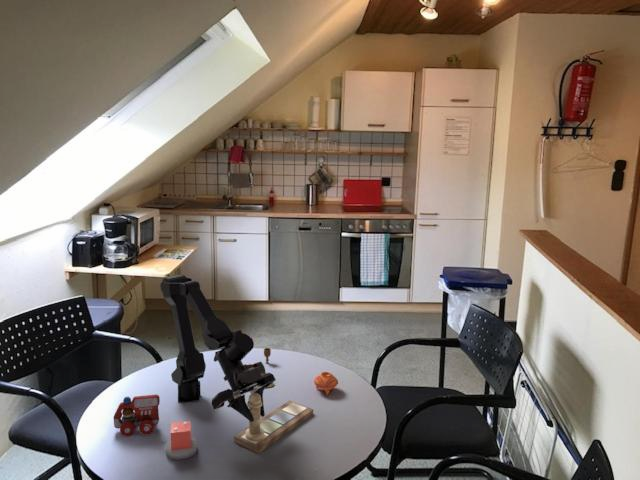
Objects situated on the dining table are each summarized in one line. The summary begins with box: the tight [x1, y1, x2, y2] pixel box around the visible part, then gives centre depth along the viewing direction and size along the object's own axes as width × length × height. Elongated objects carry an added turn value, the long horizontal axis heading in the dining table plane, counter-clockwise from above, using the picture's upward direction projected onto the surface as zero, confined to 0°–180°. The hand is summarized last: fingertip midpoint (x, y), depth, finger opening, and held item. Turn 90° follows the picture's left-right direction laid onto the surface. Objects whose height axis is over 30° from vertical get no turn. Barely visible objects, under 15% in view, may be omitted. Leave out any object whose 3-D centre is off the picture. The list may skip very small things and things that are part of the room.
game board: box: [233, 400, 314, 454], centre depth 157 cm, size 25×9×2 cm, turn 146°
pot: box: [313, 371, 339, 396], centre depth 178 cm, size 8×8×7 cm
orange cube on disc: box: [165, 420, 198, 461], centre depth 144 cm, size 8×8×8 cm
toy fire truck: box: [113, 394, 161, 437], centre depth 153 cm, size 7×12×10 cm, turn 101°
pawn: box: [246, 393, 264, 441], centre depth 148 cm, size 5×5×13 cm
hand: (258, 418), depth 147 cm, fingers closed on pawn, 3 cm apart
